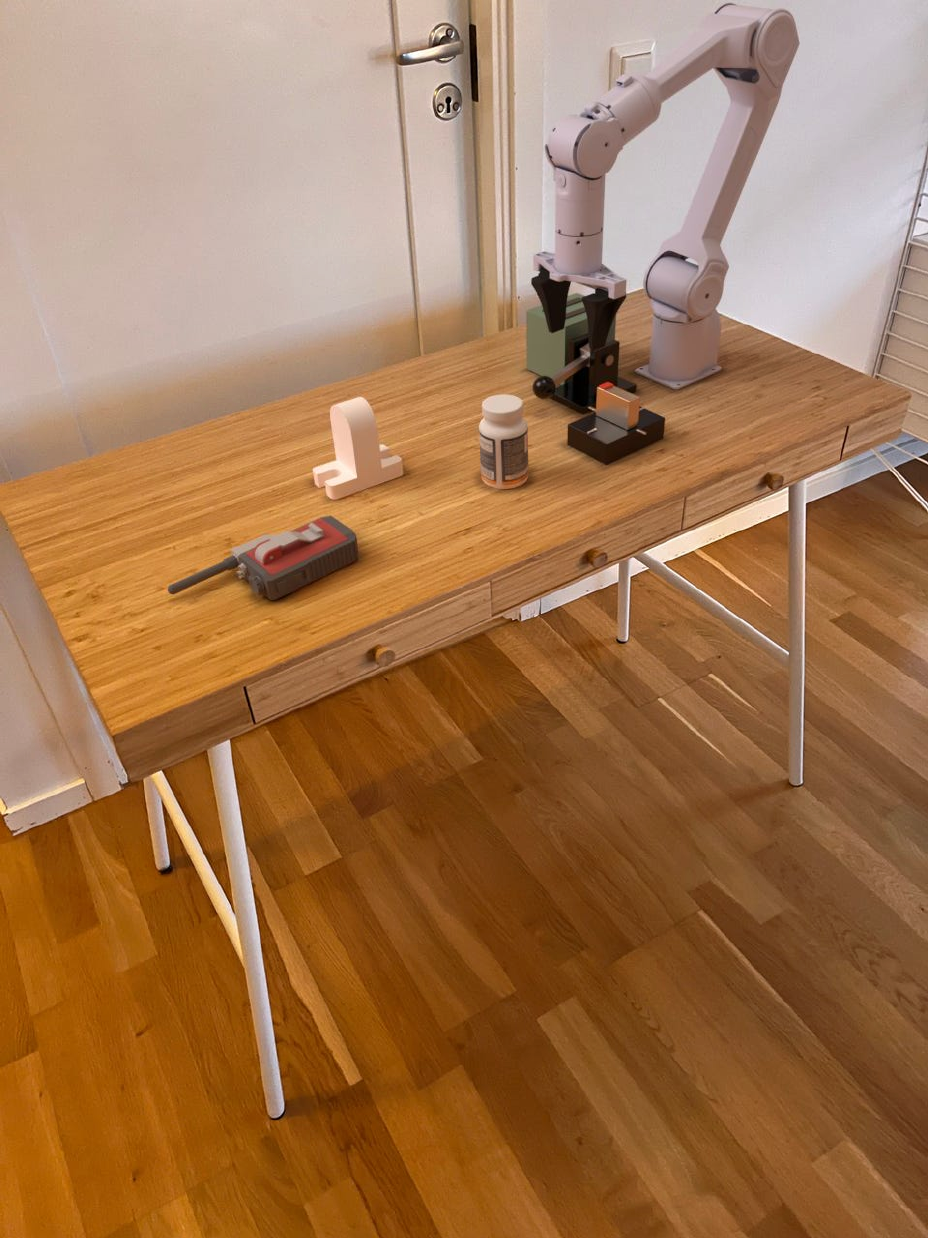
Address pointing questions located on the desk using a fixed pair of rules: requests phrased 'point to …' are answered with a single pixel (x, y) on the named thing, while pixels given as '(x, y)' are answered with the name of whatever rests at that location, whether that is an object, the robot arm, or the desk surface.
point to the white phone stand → (356, 452)
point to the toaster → (555, 337)
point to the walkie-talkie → (286, 558)
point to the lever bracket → (591, 376)
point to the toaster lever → (560, 375)
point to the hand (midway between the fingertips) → (576, 338)
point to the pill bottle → (503, 442)
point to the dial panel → (614, 435)
